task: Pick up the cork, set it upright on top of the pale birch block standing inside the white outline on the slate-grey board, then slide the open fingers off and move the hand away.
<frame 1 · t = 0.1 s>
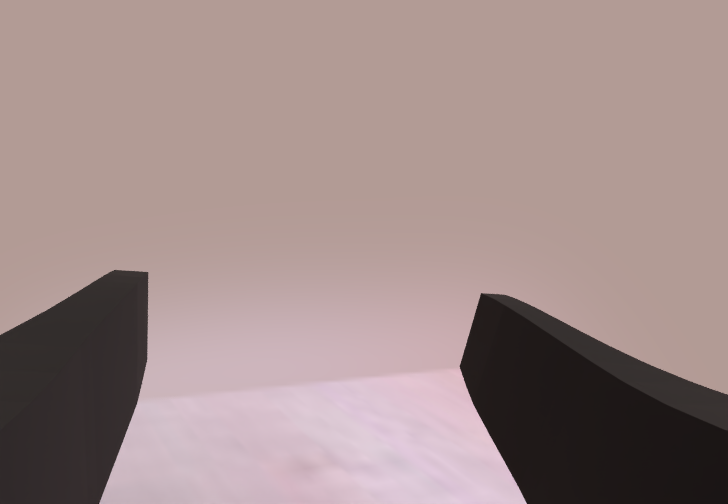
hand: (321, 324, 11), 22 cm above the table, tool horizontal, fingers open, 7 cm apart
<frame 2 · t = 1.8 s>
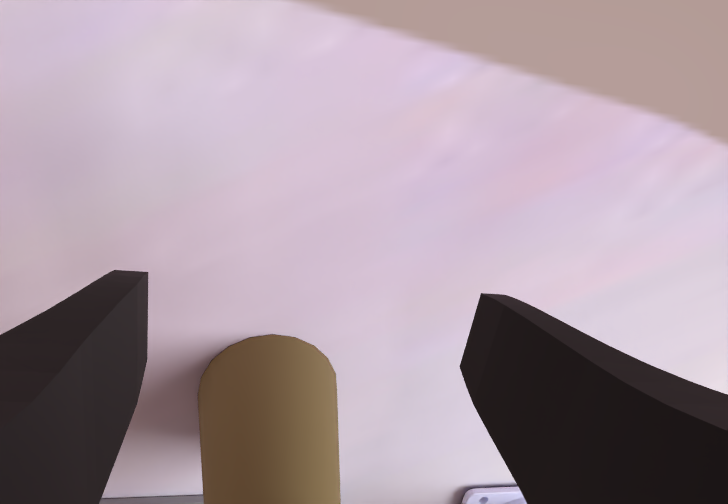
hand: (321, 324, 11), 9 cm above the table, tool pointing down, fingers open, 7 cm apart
cork: (269, 389, 22), on the table
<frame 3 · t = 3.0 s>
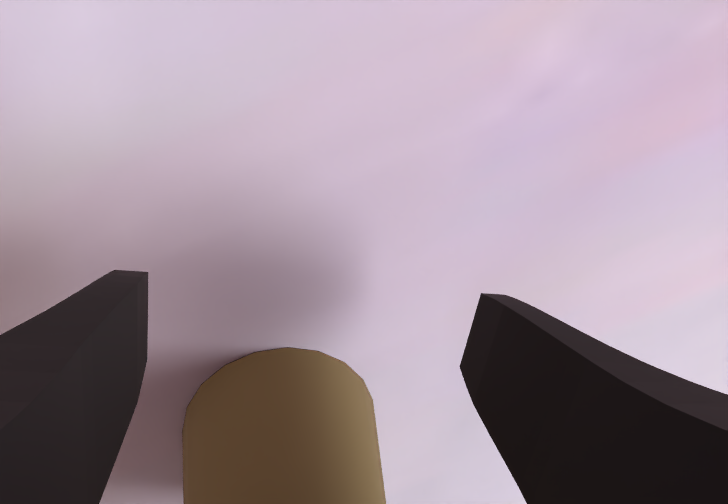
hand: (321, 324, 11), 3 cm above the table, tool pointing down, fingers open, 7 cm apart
cork: (281, 422, 16), on the table
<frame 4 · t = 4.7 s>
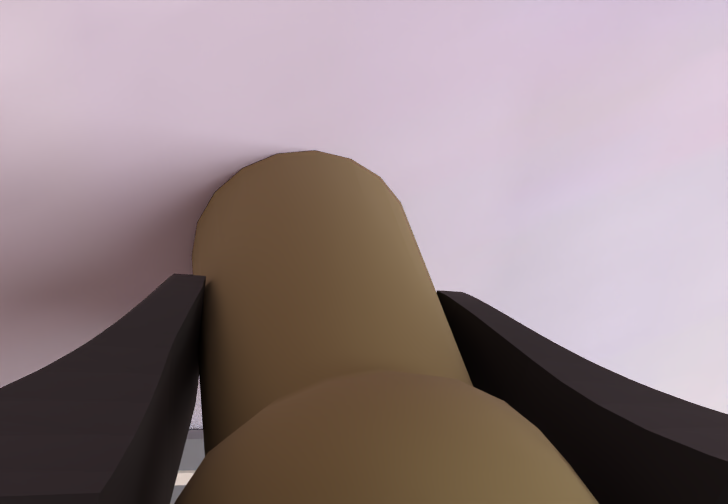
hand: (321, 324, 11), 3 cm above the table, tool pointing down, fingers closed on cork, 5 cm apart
cork: (305, 256, 14), on the table, touching gripper
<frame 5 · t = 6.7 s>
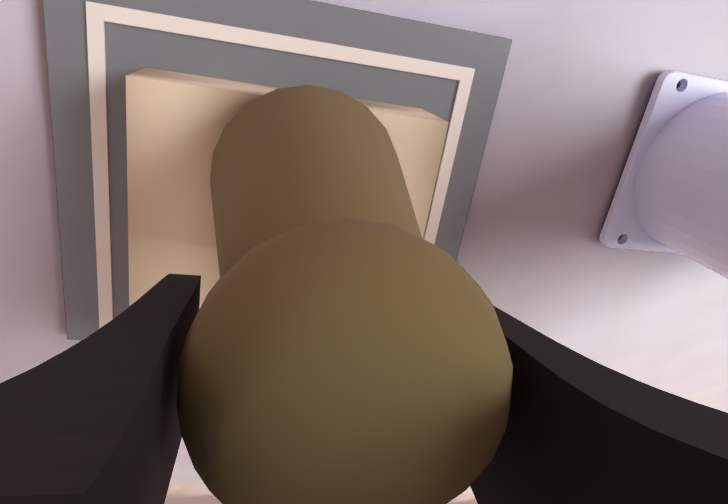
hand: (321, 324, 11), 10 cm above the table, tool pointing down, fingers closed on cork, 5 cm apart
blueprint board: (281, 191, 20), on the table
birch block: (279, 218, 20), resting on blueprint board
cork: (307, 180, 16), point 4 cm above the table, touching gripper
when the fingers open (8 cm above the table, at t = 7.9 s): cork stays where it is, resting on birch block.
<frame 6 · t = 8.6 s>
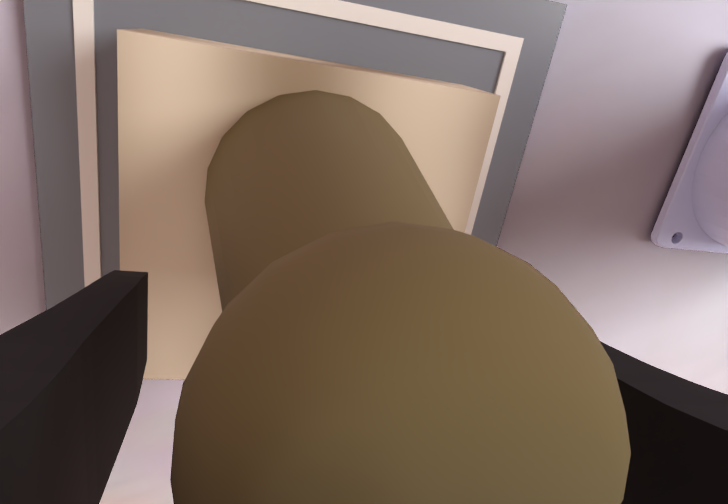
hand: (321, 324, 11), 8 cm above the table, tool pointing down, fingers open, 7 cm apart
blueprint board: (297, 179, 18), on the table
birch block: (295, 209, 18), resting on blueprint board, touching cork
cork: (313, 197, 15), point 3 cm above the table, touching birch block
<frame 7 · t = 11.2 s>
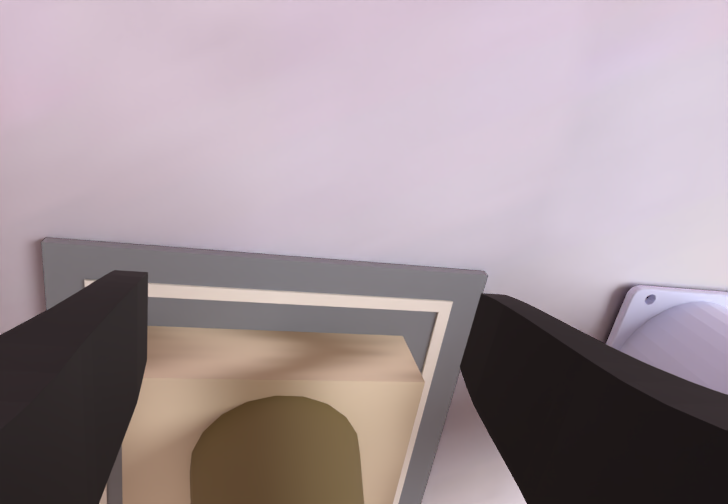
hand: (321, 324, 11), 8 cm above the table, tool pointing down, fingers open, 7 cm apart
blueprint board: (269, 406, 21), on the table
birch block: (267, 431, 21), resting on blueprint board, touching cork
cork: (277, 458, 18), point 3 cm above the table, touching birch block
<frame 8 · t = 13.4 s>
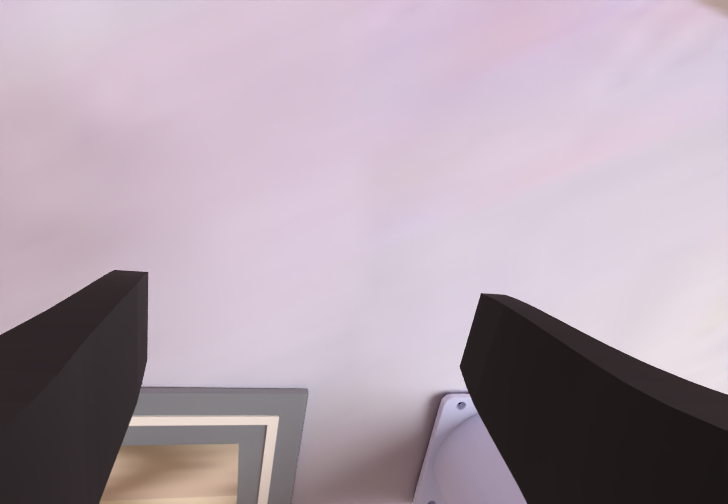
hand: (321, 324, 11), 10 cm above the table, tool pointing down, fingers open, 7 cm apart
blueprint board: (129, 501, 25), on the table
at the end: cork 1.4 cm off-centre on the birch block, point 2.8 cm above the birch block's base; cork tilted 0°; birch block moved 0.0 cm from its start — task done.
